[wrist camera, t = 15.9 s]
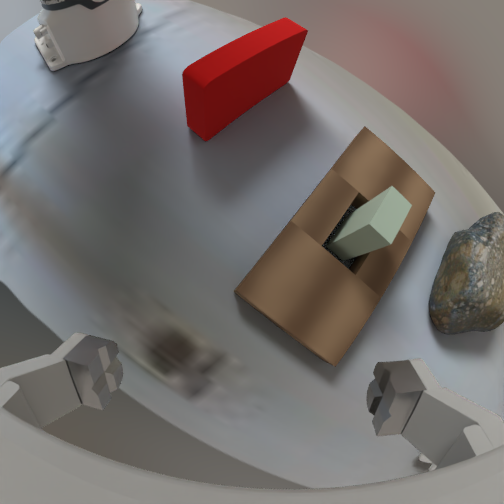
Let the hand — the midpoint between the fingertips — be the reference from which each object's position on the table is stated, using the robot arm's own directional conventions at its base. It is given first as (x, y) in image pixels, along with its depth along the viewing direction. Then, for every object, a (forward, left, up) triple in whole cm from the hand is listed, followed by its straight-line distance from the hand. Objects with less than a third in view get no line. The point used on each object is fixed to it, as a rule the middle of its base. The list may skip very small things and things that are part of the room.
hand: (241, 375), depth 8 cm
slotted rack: (+5, +15, -20) cm, 26 cm away
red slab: (-15, +21, -21) cm, 33 cm away
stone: (+23, +24, -21) cm, 39 cm away
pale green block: (+5, +15, -20) cm, 26 cm away
